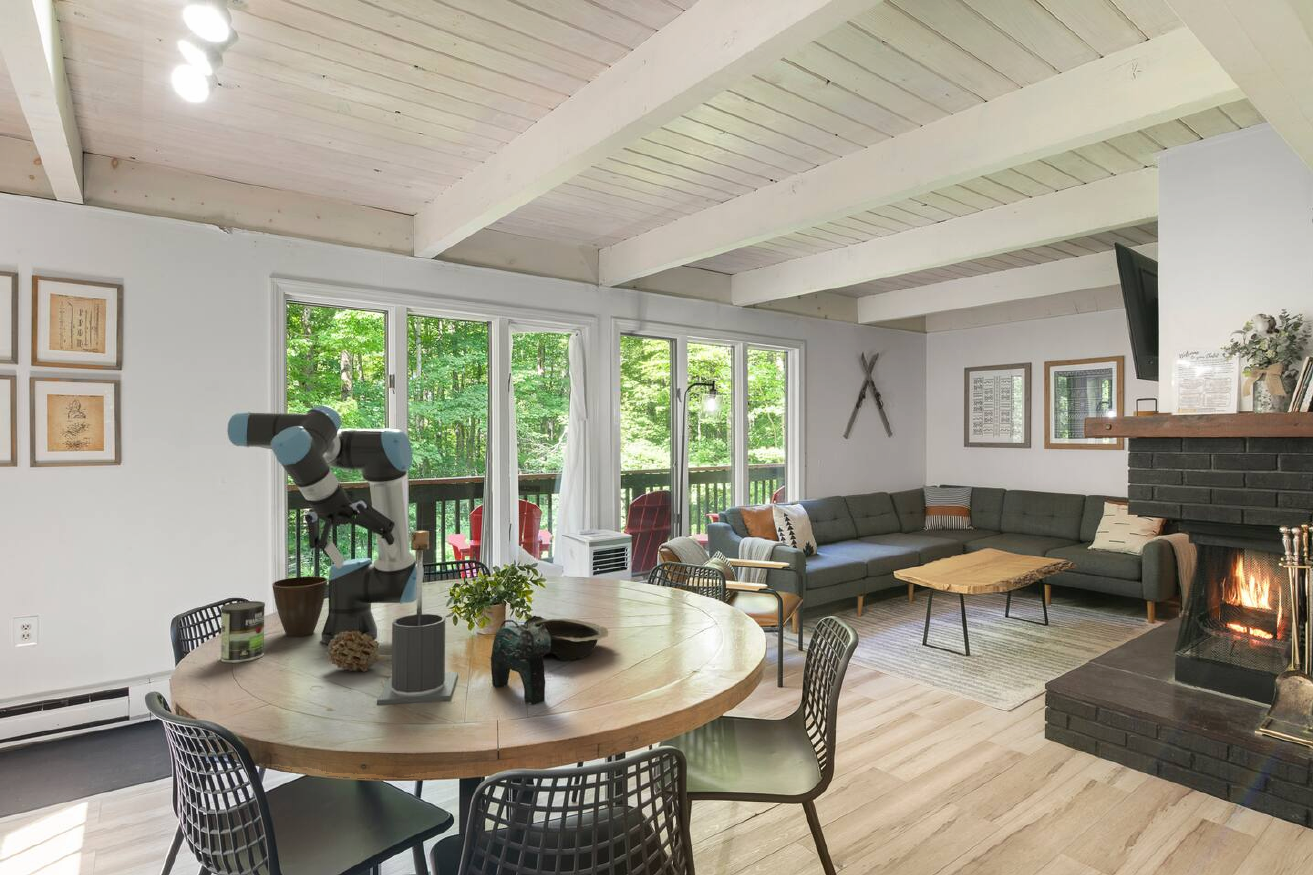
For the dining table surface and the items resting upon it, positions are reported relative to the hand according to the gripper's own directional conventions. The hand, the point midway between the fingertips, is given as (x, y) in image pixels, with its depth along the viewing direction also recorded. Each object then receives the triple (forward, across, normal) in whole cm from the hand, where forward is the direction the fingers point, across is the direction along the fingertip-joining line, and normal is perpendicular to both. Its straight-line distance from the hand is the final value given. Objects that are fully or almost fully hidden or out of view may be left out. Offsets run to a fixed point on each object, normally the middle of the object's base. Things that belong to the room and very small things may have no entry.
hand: (368, 559), depth 162 cm
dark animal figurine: (+34, +28, -19) cm, 48 cm away
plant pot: (+42, -51, +22) cm, 69 cm away
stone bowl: (+53, +32, +6) cm, 62 cm away
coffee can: (+28, -52, +4) cm, 60 cm away
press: (+29, +4, -17) cm, 34 cm away
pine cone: (+32, -14, -6) cm, 35 cm away
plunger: (+19, +7, -11) cm, 23 cm away
